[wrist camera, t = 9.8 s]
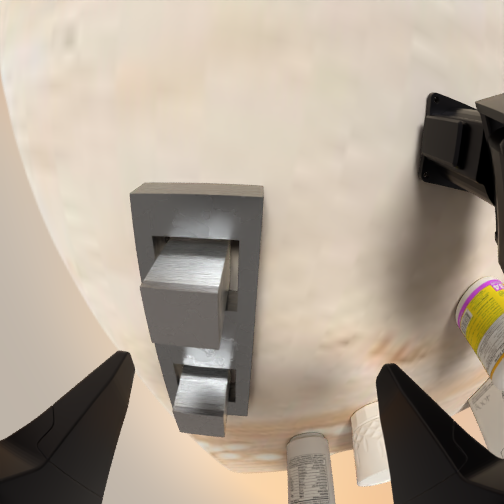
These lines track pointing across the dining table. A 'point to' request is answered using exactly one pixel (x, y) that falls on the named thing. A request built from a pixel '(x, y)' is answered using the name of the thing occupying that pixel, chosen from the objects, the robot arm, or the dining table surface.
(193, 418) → the brushed grey metal block
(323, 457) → the energy drink can
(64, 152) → the dining table surface
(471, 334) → the supplement bottle
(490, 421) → the cereal box
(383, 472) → the white cup
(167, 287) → the grey metal rectangular block
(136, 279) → the dining table surface
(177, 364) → the rail
